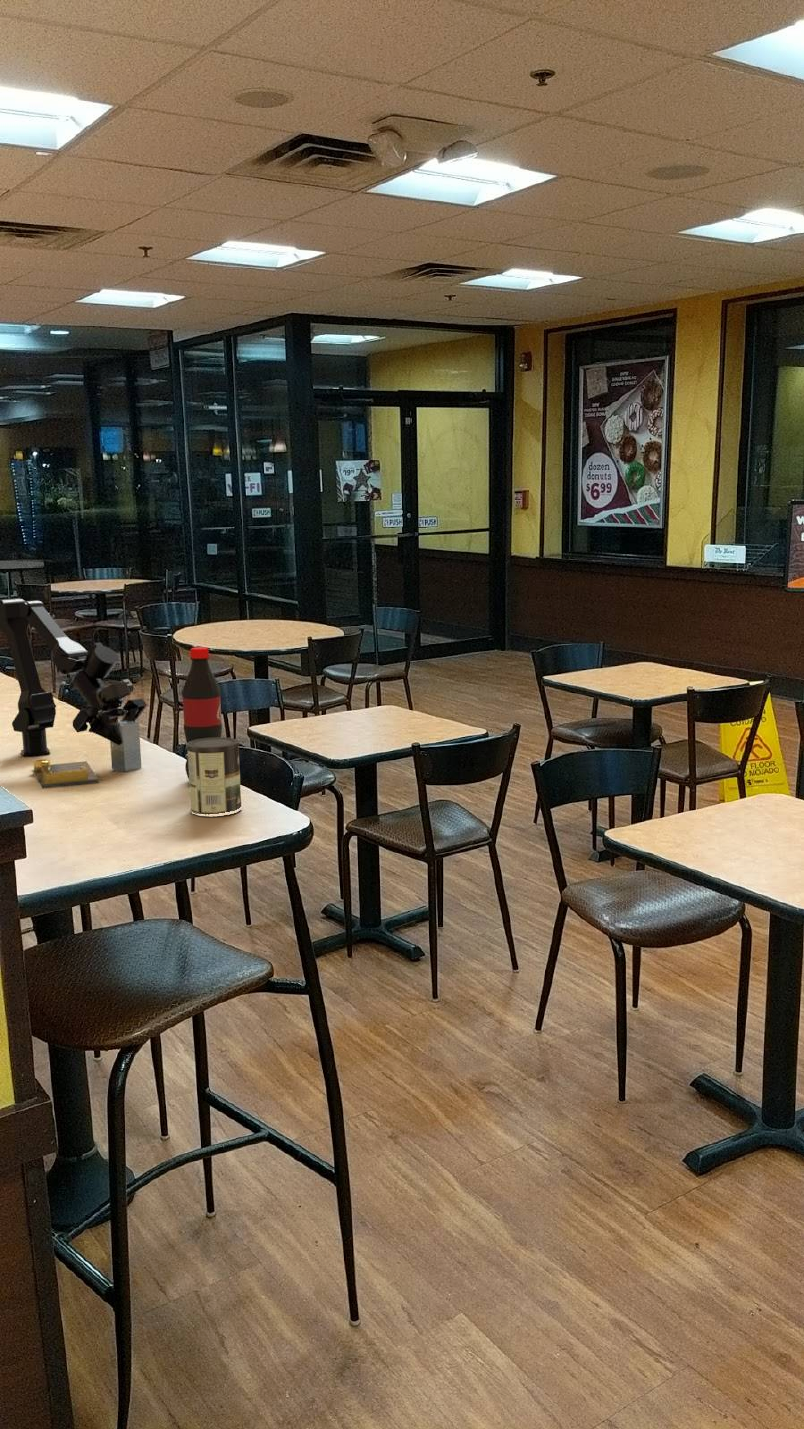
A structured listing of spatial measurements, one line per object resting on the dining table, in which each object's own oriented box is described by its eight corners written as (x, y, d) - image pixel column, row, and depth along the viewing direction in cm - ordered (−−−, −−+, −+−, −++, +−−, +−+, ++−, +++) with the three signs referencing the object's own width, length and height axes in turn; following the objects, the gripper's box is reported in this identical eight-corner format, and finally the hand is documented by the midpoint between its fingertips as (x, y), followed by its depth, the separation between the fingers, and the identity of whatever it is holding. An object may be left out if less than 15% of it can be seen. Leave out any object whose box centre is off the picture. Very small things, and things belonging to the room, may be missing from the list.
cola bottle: (228, 776, 246) (223, 645, 241) (218, 785, 238) (213, 649, 233) (192, 776, 247) (186, 645, 242) (181, 785, 239) (174, 649, 234)
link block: (112, 769, 255) (109, 723, 253) (128, 765, 259) (125, 720, 257) (125, 772, 252) (122, 725, 250) (141, 767, 256) (138, 722, 254)
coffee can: (231, 801, 225) (228, 734, 222) (249, 813, 216) (246, 743, 213) (182, 808, 220) (179, 740, 217) (199, 820, 211) (196, 749, 208)
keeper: (32, 769, 256) (31, 758, 255) (86, 764, 260) (85, 753, 260) (40, 788, 237) (40, 776, 237) (98, 782, 242) (97, 770, 242)
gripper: (77, 674, 246) (113, 726, 242) (139, 664, 261) (174, 713, 257) (56, 705, 251) (92, 757, 247) (118, 694, 267) (152, 743, 263)
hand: (129, 741), depth 253 cm, fingers closed on link block, 5 cm apart
